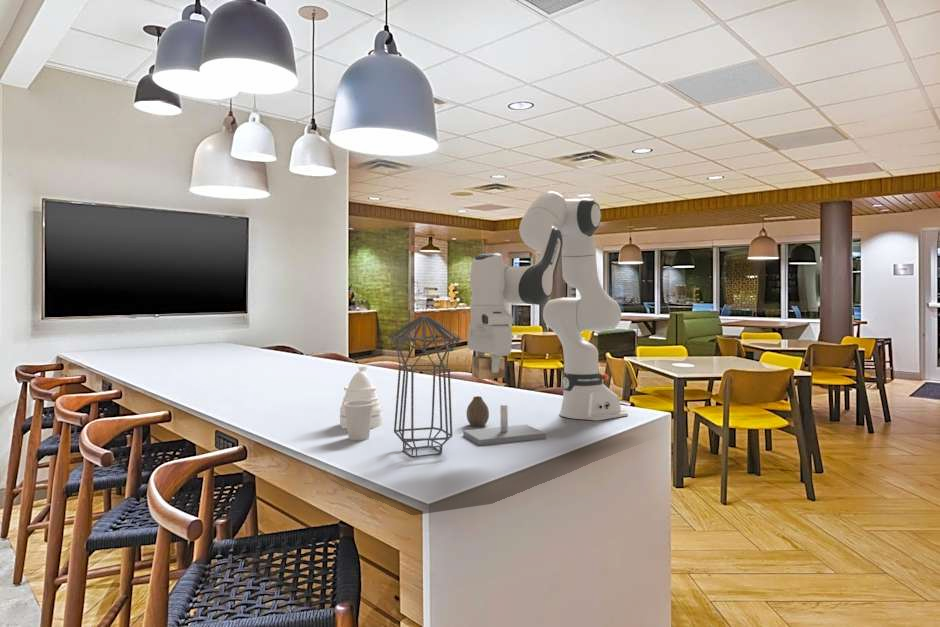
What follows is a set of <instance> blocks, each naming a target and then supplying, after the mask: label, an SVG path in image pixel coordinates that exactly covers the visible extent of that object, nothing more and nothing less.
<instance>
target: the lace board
mask: <svg viewBox="0 0 940 627" xmlns="http://www.w3.org/2000/svg"><path fill="white" fill-rule="evenodd" d="M508 408H509V406H508V404H500V410H499V411H500V426H495V427H494V426H493V427H487V428H477V429H464V430H463V433H462V434H463V436H464V437H465V438H467V439H468V440H470V441H471V442H473V443H475V444H476V445H478V446H486V445H498V444H506V443H515V442H525V441H534V440H544V439H546V438H547V434H546V433H547V432H545V431H543V430H541V429H540V430H539V429H538V428H535V427H532V426H530V425H528V424H526V423H525V424H517V425H516V424H514V425H509V424H508V420H509V419H508V414H509V413H508V411H509V410H508Z"/></svg>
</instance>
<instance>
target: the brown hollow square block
mask: <svg viewBox="0 0 940 627" xmlns="http://www.w3.org/2000/svg"><path fill="white" fill-rule="evenodd" d="M505 360H506V358H505V357H503V356H501V361H500V364H499V372H498V373H493V372H490V365H491V363H492V359H491V355H484V356H477V357H476V356H471V377H473V378H476V379H479V380H489V379H493V380H494V379H504V378H505V376H506V375H505V374H506V372H505V371H506V368H505V367H506V366H505V364H506V363H505Z"/></svg>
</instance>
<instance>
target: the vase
mask: <svg viewBox="0 0 940 627" xmlns="http://www.w3.org/2000/svg"><path fill="white" fill-rule="evenodd" d="M472 398H473V399H471V401H470V403H469V404H468V405H467V408H466V419H467V421H468V423H469V424H470V426H472V427H478V428H479V427H484V426H485V425H486V424H487V423H488V421H489V417H490V411H489V407H488V405H487V403H486V402H485V400H483V399H484V398H483V397H482V396H479V395H478V396H473V397H472Z"/></svg>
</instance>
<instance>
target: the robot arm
mask: <svg viewBox="0 0 940 627" xmlns="http://www.w3.org/2000/svg"><path fill="white" fill-rule="evenodd" d="M601 220H602V210H601V207H600V205H599V204H598V203H597V201H596V200H595V199H592V198H591V199H590V198H582V199H581V198H565V197H563V195H562V194H560V193H558V192H555V191H546V192H543V193H541V194H540V195H539V196H538V197H537V198H535V200H534V201H533V202H532V203H531V204H530V206H529V208H528V209H527V211H525V213H524V215H523V217H522V219H521V221H520V223H519V229H518V230H519V235H520V236H519V237H520V238H521V240H522V241H523V243H524V244H525V245H526V246H527V247H529V248H530V249H531V250H533V251H537V252H540V253H539V255H538V258H537V261H536V262H535V263H533V264H531V265H525V266H524V265H523V266H510V265H508V264H507V263H505V262H504V259H503V258H504V257H503V255H502V254H501V253H499V252H487V253H480V254H478V255H475V256H474V257H473V258H472V261H471V265H470V266H471V267H470V274H469V276H470V277H469V279H470V281H469V285H470V286H469V287H470V288H469V289H470V292H471V300H470V306H469V307H470V309H469V310H470V316H469V317H470V323H469V324H468V328H467V329H468V330H467V348H468V350H469V351H470V350H471V351H474V352H475V357H477V356H486V354H488V355H490V356H491V359H492V363H491V365H490V372H493V373H498V372H499V364H500V361H501V357H506V356H507V357H508V356H509V355H511V352H512V344H513V342H512V341H513V340H512V338H513V334H512V333H513V332H512V326H511V325H513V323H514V319H513V318H514V317H513V315H511V314H510V313H509V311H507V309H506V304H507V303H508V304H527V305H528V304H529V305H537V306H538V305H540V306H541V305H543V304H544V303H545V302H546V304H545V305H544V307H543V311H542V316H543V317H542V318H543V321H544V323H545V325H546V326H547V327H548V328H549V329H550V330H552V331H553V332H554V334H556V336H557V338H558V339H559V341H560V343H561V346H562V347H561V348H562V352H563V363H564V364H563V365H564V371H563V373H562V387H563V393H562V394H563V396H562V402H561V407H560V410H559V416H560V417H564V418H568V419H573V420H574V419H575V420H588V421H602V420H607V419H608V420H609V419H615V418H620V417H627V416H629V414H628V411H627V410H626V409H625V410H624V409H622V408H621V407H622V406H621V400H620V397H619V396H618V394H617V393H615V392H614V391H612V390H611V389H610V388H609V387H607V385H605V384H604V382H603V381H609V379H610V375H608V374H606V373H603V374H601V373H600V372H599V350H598V349H597V347H596V346H595V345H594V344H592V343H591V342H590V341H587V340H586V339H584V337H583V336H582V331H583V332H585V331H587V332H590V331H591V332H605V331H609V330H613V329H616V328H617V326H619V324H620V322H621V319H622V309H621V307H620V304H619V303H618V302H617V301H616V300H615V299H614V298H613V297H612V296H610V295H609V294H608V293H607V292H606V291H605V290H604V288H603V286H602V284H601V281H600V279H599V274H598V273H599V272H598V265H597V262H598V261H597V247H596V240H595V234H594V233H595V232H596V231H597V230H598V228H599V227H600V224H601ZM560 258H561V268H562V269H561V270H562V279H563V281H564V282H565V283H566V284H567V285H568V286H571V287H573V288H575V289H576V290H577V291H578V292H579V294H580V297H558V298H554V299H553V298H552V299H549V298H550V297H551V295H552V294H553V289H554V281H555V275H556V271H557V268H558V265H559V261H560Z"/></svg>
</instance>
